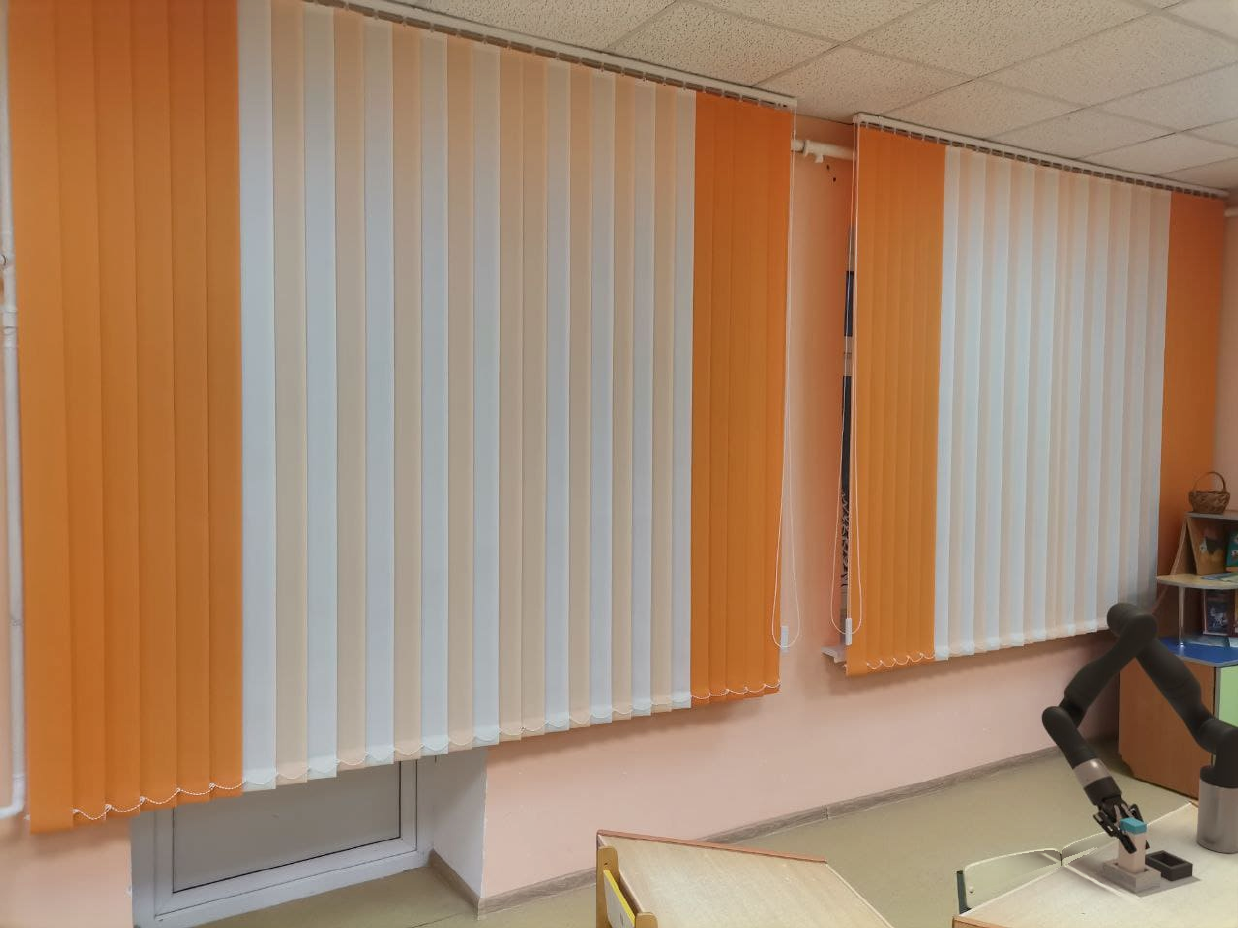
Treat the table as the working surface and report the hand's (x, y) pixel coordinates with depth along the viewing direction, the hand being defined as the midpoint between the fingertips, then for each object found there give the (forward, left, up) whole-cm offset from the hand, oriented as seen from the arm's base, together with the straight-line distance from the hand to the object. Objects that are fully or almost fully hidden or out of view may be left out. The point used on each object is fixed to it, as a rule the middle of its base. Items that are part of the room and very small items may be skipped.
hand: (1139, 850), depth 211 cm
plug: (0, -2, -6) cm, 6 cm away
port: (0, -2, -9) cm, 10 cm away
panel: (-6, -2, -9) cm, 11 cm away
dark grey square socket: (-13, -2, -9) cm, 16 cm away
